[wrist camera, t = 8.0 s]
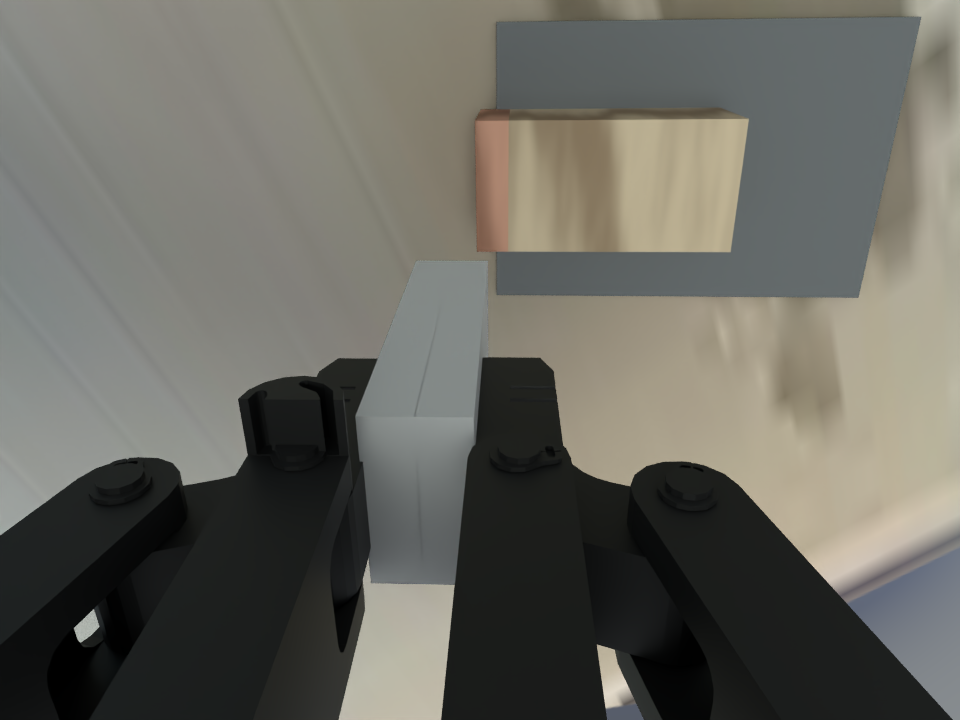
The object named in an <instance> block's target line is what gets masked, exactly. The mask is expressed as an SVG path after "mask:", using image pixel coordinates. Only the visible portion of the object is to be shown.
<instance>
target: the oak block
mask: <svg viewBox="0 0 960 720" xmlns="http://www.w3.org/2000/svg"><path fill="white" fill-rule="evenodd" d="M748 122H749V119H748V118H745V117H743V116H740V115H738V114H735V113H733V112H730V111H728V110H725V109H722V108H604V109H481V110H480V112H479V114H478V116H477V118H476V120H475V153H476V221H477V252H731V245H732V238H733V230H734V223H735V216H736V209H737V202H738V194H739V187H740V180H741V173H742V166H743V158H744V151H745V144H746V137H747V129H748Z"/></svg>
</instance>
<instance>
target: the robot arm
mask: <svg viewBox="0 0 960 720" xmlns="http://www.w3.org/2000/svg"><path fill="white" fill-rule="evenodd" d="M238 401H239V407H240V412H241V418H242V424H243V430H244V436H245V441H246V447H247V453H248V456H247V458H246V459H245V461H244V463H243V464H242V466H241V468H240V469H239V471H238V473H237V474H236V475H235V476H232V477H228V478H223V479H219V480H214V481H208V482H202V483H197V484H191V485H185V486H183V484H182V480H181V475H180V471H179V470H178V469H177V468H176V467H175V466H174V464H173V463H171V462H168V461H165V460H162V459H159V458H139V457H137V458H129V459H127V460H126V459H122V460H117V461H114V462H112V463H110V464H108V465H105V466H102V467H99V468H96V469H94V470H92V471H91V472H89V473H87V474H85V475H84V476H82V477H80V478H78V479H77V480H76V481H74V482H73V483H71V484H70V485H69V486H67V487H66V488H65V489H63V490H62V491H60V492H59V493H58V494H56V495H55V496H54V497H52V498H51V499H50V500H48V501H47V502H45V503H44V504H43V505H41V506H40V507H39V508H37V509H36V510H35V511H33V512H32V513H30V514H29V515H28V516H26V517H25V518H24V519H22V520H21V521H19V522H18V523H17V524H15V525H14V526H13V527H11V528H10V529H9V530H7V531H6V532H4V533H3V534H2V535H0V720H338V719H339V715H340V711H341V707H342V703H343V698H344V694H345V690H346V686H347V682H348V678H349V674H350V670H351V665H352V661H353V657H354V653H355V649H356V645H357V641H358V636H359V632H360V628H361V624H362V620H363V616H364V612H365V602H364V589H363V576H364V572H365V568H366V565H367V561H368V557H369V565H370V576H371V583H392V584H444V585H455V588H454V598H453V608H452V618H451V628H450V638H449V648H448V658H447V668H446V678H445V688H444V698H443V708H442V718H441V720H607V717H606V709H605V702H604V695H603V687H602V680H601V673H600V666H599V658H598V651H597V644H598V645H601V646H605V647H608V648H611V649H615V653H616V657H617V662H618V665H619V667H620V669H621V672H622V674H623V676H624V678H625V680H626V682H627V684H628V687H629V689H630V691H631V693H632V695H633V697H634V699H635V701H636V704H637V706H638V708H639V710H640V712H641V714H642V716H643V718H644V720H952V718H950V716H949V715H948V714H947V713H946V712H945V711H944V710H943V709H942V708H941V706H940V705H939V704H938V703H937V702H936V701H935V700H934V699H933V698H932V697H931V695H930V694H929V693H928V692H927V691H926V690H925V689H924V688H923V687H922V686H921V684H920V683H919V682H918V681H917V680H916V679H915V678H914V677H913V676H912V675H911V673H910V672H909V671H908V670H907V669H906V668H905V667H904V666H903V665H902V664H901V663H900V662H899V660H898V659H897V658H896V657H895V656H894V655H893V654H892V653H891V652H890V650H889V649H888V648H887V647H886V646H885V645H884V644H883V643H882V642H881V641H880V640H879V638H878V637H877V636H876V635H875V634H874V633H873V632H872V631H871V630H870V629H869V628H868V626H867V625H866V624H865V623H864V622H863V621H862V620H861V619H860V618H859V617H858V615H856V613H855V612H854V611H853V610H852V609H851V608H850V607H849V606H848V604H847V603H846V602H845V601H844V600H843V599H842V598H841V597H840V596H839V595H838V593H837V592H836V591H835V590H834V589H833V588H832V587H831V586H830V585H829V584H828V583H827V581H826V580H825V579H824V578H823V577H822V576H821V575H820V574H819V573H818V572H817V570H816V569H815V568H814V567H813V566H812V565H811V564H810V563H809V562H808V561H807V560H806V558H805V557H804V556H803V555H802V554H801V553H800V552H799V551H798V550H797V549H796V547H795V546H794V545H793V544H792V543H791V542H790V541H789V540H788V539H787V538H786V536H785V535H784V534H783V533H782V532H781V531H780V530H779V529H778V528H777V527H776V526H775V524H774V523H773V522H772V521H771V520H770V519H769V518H768V517H767V516H766V515H765V513H764V512H763V511H762V510H761V509H760V508H759V507H758V506H757V505H756V504H755V503H754V501H753V500H752V499H751V498H750V497H749V496H748V495H747V494H746V493H745V492H744V490H743V489H742V488H741V487H740V486H739V485H738V484H736V483H735V482H734V481H733V480H731V479H730V478H729V477H727V476H726V475H725V474H723V473H721V472H718V471H716V470H714V469H711V468H709V467H707V466H704V465H700V464H696V463H694V464H693V463H691V462H682V461H681V462H661V463H657V464H654V465H650V466H646V467H645V468H643V469H642V470H641V471H639V472H638V473H637V474H635V475H634V478H633V481H632V483H631V486H625V485H621V484H616V483H611V482H608V481H604V480H601V479H597V478H595V477H593V476H590V475H588V474H586V473H584V472H582V471H581V470H579V469H578V468H577V467H575V466H574V465H573V464H572V462H571V458H570V456H569V454H568V452H567V450H566V448H565V447H564V446H563V441H562V434H561V426H560V418H559V410H558V403H557V395H556V389H555V379H554V371H553V370H552V369H551V368H550V367H549V366H548V365H547V364H546V363H545V362H544V361H543V360H541V359H540V358H495V357H488V261H416V263H415V265H414V268H413V270H412V273H411V275H410V278H409V281H408V283H407V286H406V288H405V291H404V293H403V296H402V298H401V301H400V304H399V306H398V309H397V311H396V314H395V316H394V319H393V321H392V324H391V327H390V329H389V332H388V334H387V337H386V339H385V342H384V344H383V347H382V349H381V352H380V355H379V357H378V359H345V358H338V359H337V360H335V361H334V362H332V363H331V364H330V365H328V366H327V367H325V368H324V369H322V370H321V371H319V373H318V375H317V377H309V376H297V377H285V378H280V379H276V380H272V381H268V382H265V383H262V384H260V385H258V386H256V387H254V388H252V389H249V390H248V391H247V392H246V393H245V394H243V395H242V396H241V397H240V398H239V399H238ZM93 609H94V610H95V613H96V617H97V620H98V623H99V626H100V627H99V628H98V629H97V630H96V631H95V632H94V633H93V634H92V635H91V636H90V637H88V638H87V639H86V640H84V641H83V642H81V643H80V642H79V641H78V640H77V637H76V634H75V631H74V627H75V626H76V625H77V624H78V623H79V622H81V621H82V620H83V619H84V618H85V617H86V616H87V615H88V614H89V613H90V612H91V611H92V610H93Z"/></svg>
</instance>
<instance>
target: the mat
mask: <svg viewBox="0 0 960 720" xmlns="http://www.w3.org/2000/svg"><path fill="white" fill-rule="evenodd" d="M920 20H921V17H867V18H785V19H702V20H620V21H538V22H497V109H604V108H722V109H725V110H728V111H730V112H733V113H735V114H738V115H740V116H743V117H745V118H748V119H749V122H748V129H747V137H746V144H745V151H744V158H743V166H742V173H741V180H740V187H739V194H738V202H737V209H736V216H735V223H734V230H733V238H732V245H731V252H497V295H582V296H712V297H843V298H858V297H859V292H860V288H861V283H862V279H863V275H864V270H865V266H866V261H867V257H868V252H869V248H870V243H871V239H872V234H873V230H874V226H875V221H876V217H877V212H878V208H879V203H880V199H881V194H882V190H883V185H884V181H885V176H886V172H887V168H888V163H889V159H890V154H891V150H892V145H893V141H894V136H895V132H896V127H897V123H898V119H899V114H900V110H901V105H902V101H903V96H904V92H905V87H906V83H907V78H908V74H909V70H910V65H911V61H912V56H913V52H914V47H915V43H916V38H917V34H918V29H919V25H920Z"/></svg>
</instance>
